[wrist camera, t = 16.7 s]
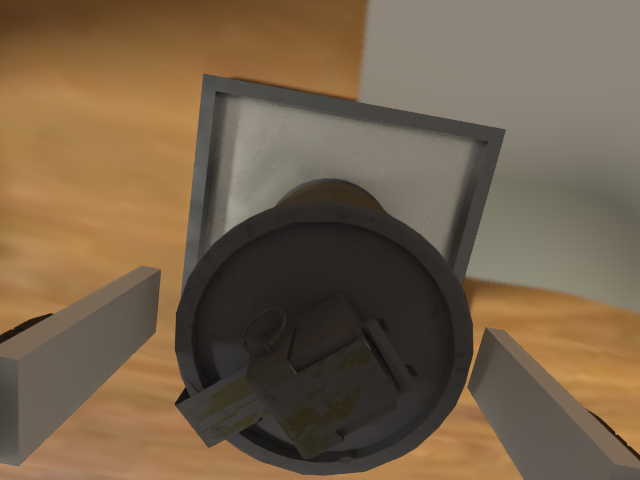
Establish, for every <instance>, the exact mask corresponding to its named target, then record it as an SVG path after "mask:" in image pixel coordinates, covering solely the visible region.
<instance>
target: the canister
mask: <svg viewBox="0 0 640 480" xmlns="http://www.w3.org/2000/svg"><path fill="white" fill-rule="evenodd" d="M175 352H176V356H177V361H178V365H179V369H180V374H181V377H182V379H183V382H184V384H185V386H186V387H185V389H184V390H183V392H182V393H181V395H180V396H179V398H178V399H177V401H176V402H175V406H176V407H177V408H178V410H179V411H180V412H181V413H182V415H183V416H184V417H185V419H186V420H187V421H188V422H189V424H190V425H191V426H192V427H193V429H194V430H195V431H196V433H197V434H198V435H199V436H200V438H201V439H202V440H203V442H204V443H205V444H206V445H207V447H208V448H209V447H212V446H214V445H216V444H218V443H219V442H221V441H223V440H227V441H228V442H229V443H231V444H232V445H233V446H235V447H236V448H237V449H239V450H240V451H242V452H244V453H246V454H248V455H249V456H251V457H253V458H255V459H257V460H258V461H261V462H264V463H267V464H270V465H274V466H277V467H280V468H283V469H287V470H290V471H293V472H296V473H300V474H303V475H335V474H346V473H356V472H365V471H368V470H370V469H373V468H375V467H377V466H380V465H382V464H385V463H387V462H390V461H392V460H394V459H397V458H399V457H402V456H404V455H405V454H407V453H409V452H410V451H412V450H414V449H415V448H417V447H418V446H419V445H420V444H421V443H422V442H423V441H424V440H425V439H427V438H428V437H429V436H430V435H431V434H432V433H433V432H434V431H435V430H436V429H437V428H439V426H440V425H441V424H442V422H443V421H444V420H445V419H446V417H447V416H448V415H449V413H450V412H451V411H452V410H453V408H454V407H455V406H456V404H457V401H458V399H459V397H460V395H461V392H462V390H463V388H464V386H465V383H466V379H467V375H468V371H469V368H470V364H471V360H472V356H473V323H472V319H471V315H470V311H469V307H468V303H467V299H466V295H465V293H464V291H463V289H462V287H461V285H460V282H459V280H458V278H457V277H456V275H455V274H454V272H453V271H452V269H451V268H450V266H449V265H448V263H447V262H446V260H445V259H444V258H443V256H442V255H441V254H440V253H439V251H438V250H437V249H436V248H435V247H434V246H433V245H432V244H431V243H429V242H428V241H427V240H426V239H425V238H424V237H423V236H422V235H421V234H420V233H418V232H417V231H415V230H414V229H412V228H411V227H409V226H408V225H407V224H405V223H403V222H401V221H400V220H398V219H396V218H394V217H392V216H391V215H390V214H388V213H387V212H386V211H385V210H384V209H383V207H382V206H381V205H380V203H379V202H378V201H377V200H376V199H375V198H374V196H372V195H371V194H370V193H369V192H367V191H366V190H365V189H363V188H362V187H360V186H358V185H356V184H354V183H351V182H349V181H345V180H341V179H333V178H323V179H316V180H311V181H308V182H305V183H303V184H300V185H298V186H297V187H295V188H293V189H292V190H290V191H289V192H287V193H286V194H285V195H284V196H283V197H282V198H281V199H280V200H279V201H278V203H277V204H276V206H275V207H273V208H270V209H267V210H265V211H263V212H261V213H259V214H256V215H254V216H252V217H250V218H248V219H246V220H245V221H243V222H241V223H240V224H238V225H236V226H235V227H233V228H232V229H230V230H229V231H228V232H227V233H226V234H224V235H223V236H222V237H221V238H219V239H218V240H217V241H216V242H215V243H214V244H213V245H212V246H211V247H210V249H209V250H208V251H207V252H206V253H205V255H204V256H203V257H202V258H201V259H200V261H199V262H198V263H197V265H196V266H195V268H194V270H193V271H192V273H191V274H190V276H189V277H188V280H187V282H186V285H185V288H184V291H183V294H182V297H181V300H180V303H179V306H178V309H177V312H176V331H175Z"/></svg>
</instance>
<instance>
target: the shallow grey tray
mask: <svg viewBox="0 0 640 480" xmlns="http://www.w3.org/2000/svg"><path fill="white" fill-rule="evenodd" d="M504 134H505V129H500V128H494V127H488V126H483V125H478V124H472V123H467V122H462V121H456V120H451V119H445V118H440V117H435V116H429V115H424V114H418V113H413V112H408V111H402V110H397V109H392V108H386V107H380V106H375V105H370V104H364V103H359V102H354V101H348V100H343V99H337V98H332V97H327V96H321V95H316V94H310V93H305V92H300V91H294V90H289V89H283V88H278V87H273V86H267V85H262V84H256V83H251V82H245V81H240V80H235V79H229V78H224V77H218V76H213V75H208V74H203V83H202V93H201V103H200V113H199V122H198V132H197V142H196V152H195V162H194V172H193V182H192V192H191V201H190V211H189V221H188V231H187V241H186V251H185V261H184V271H183V280H182V290H181V297H182V294H183V291H184V288H185V285H186V282H187V280H188V277H189V276H190V274H191V273H192V271H193V270H194V268H195V266H196V265H197V263H198V262H199V261H200V259H201V258H202V257H203V256H204V255H205V253H206V252H207V251H208V250H209V249H210V247H211V246H212V245H213V244H214V243H215V242H216V241H217V240H218V239H219V238H221V237H222V236H223V235H224V234H226V233H227V232H228V231H229V230H230V229H232V228H233V227H235V226H236V225H238V224H240V223H241V222H243V221H245V220H246V219H248V218H250V217H252V216H254V215H256V214H259V213H261V212H263V211H265V210H267V209H270V208H273V207H275V206H276V204H277V203H278V201H279V200H280V199H281V198H282V197H283V196H284V195H285V194H286V193H287V192H289V191H290V190H292V189H293V188H295V187H297V186H298V185H300V184H303V183H305V182H308V181H311V180H316V179H323V178H333V179H341V180H345V181H349V182H351V183H354V184H356V185H358V186H360V187H362V188H363V189H365V190H366V191H367V192H369V193H370V194H371V195H372V196H374V198H375V199H376V200H377V201H378V202H379V203H380V205H381V206H382V207H383V209H384V210H385V211H386V212H387V213H388V214H390V215H391V216H392V217H394V218H396V219H398V220H400V221H401V222H403V223H405V224H407V225H408V226H409V227H411V228H412V229H414V230H415V231H417V232H418V233H420V234H421V235H422V236H423V237H424V238H425V239H426V240H427V241H428V242H429V243H431V244H432V245H433V246H434V247H435V248H436V249H437V250H438V251H439V253H440V254H441V255H442V256H443V258H444V259H445V260H446V262H447V263H448V265H449V266H450V268H451V269H452V271H453V272H454V274H455V275H456V277H457V278H458V280H459V282H460V285H461V287H462V285H463V281H464V277H465V274H466V270H467V266H468V263H469V260H470V256H471V252H472V249H473V245H474V241H475V238H476V234H477V231H478V227H479V224H480V220H481V217H482V213H483V209H484V206H485V202H486V199H487V195H488V191H489V188H490V184H491V181H492V177H493V174H494V170H495V166H496V163H497V159H498V155H499V152H500V148H501V145H502V142H503V138H504Z"/></svg>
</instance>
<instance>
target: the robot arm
mask: <svg viewBox="0 0 640 480" xmlns="http://www.w3.org/2000/svg"><path fill="white" fill-rule="evenodd" d="M160 276H161V269H157V268H152V267H146V266H141V267H139V268H137V269H135V270H133V271H131V272H130V273H128V274H126V275H124V276H122V277H121V278H119V279H117V280H115V281H113V282H112V283H110V284H108V285H106V286H104V287H103V288H101V289H99V290H97V291H95V292H93V293H92V294H90V295H88V296H86V297H84V298H83V299H81V300H79V301H77V302H75V303H74V304H72V305H70V306H68V307H66V308H64V309H63V310H61V311H59V312H57V313H55V314H52V313H50V314H47V315H43V316H40V317H36V318H33V319H30V320H28V321H26V322H24V323H22V324H20V325H18V326H17V327H15V328H14V329H13V330H9V331H7V332H5V333H3V334H1V335H0V463H3V464H9V465H15V466H20V465H21V464H22V463H23V462H24V461H25V460H26V459H27V458H28V457H29V456H30V455H31V454H32V453H33V452H34V451H35V450H36V449H37V448H38V447H39V446H40V445H41V444H42V443H43V442H44V441H45V440H46V439H47V438H48V437H49V436H50V435H51V434H52V433H53V432H54V431H55V430H56V429H57V428H58V427H59V426H60V425H61V424H62V423H63V422H64V421H65V420H67V419H68V418H69V417H70V416H71V415H72V414H73V413H74V412H75V411H76V410H77V409H78V408H79V407H80V406H81V405H82V404H83V403H84V402H85V401H86V400H87V399H88V398H89V397H90V396H91V395H92V394H93V393H94V392H95V391H96V390H97V389H98V388H99V387H100V386H101V385H102V384H103V383H104V382H105V381H106V380H107V379H108V378H109V377H110V376H111V375H113V374H114V373H115V372H116V371H117V370H118V369H119V368H120V367H121V366H122V365H123V364H124V363H125V362H126V361H127V360H128V359H129V358H130V357H131V356H132V355H133V354H134V353H135V352H136V351H137V350H138V349H139V348H140V347H141V346H142V345H143V344H144V343H145V342H146V341H147V340H148V339H149V338H150V337H151V336H152V335H153V334H154V333H155V332H156V322H157V311H158V299H159V288H160ZM467 388H468V389H469V391H470V392H471V394H472V396H473V397H474V399H475V401H476V402H477V404H478V405H479V407H480V409H481V410H482V412H483V414H484V415H485V417H486V419H487V420H488V422H489V423H490V425H491V427H492V428H493V430H494V432H495V433H496V435H497V436H498V438H499V440H500V441H501V443H502V445H503V446H504V448H505V450H506V451H507V453H508V454H509V456H510V458H511V459H512V461H513V463H514V464H515V466H516V467H517V469H518V471H519V472H520V474H521V476H522V477H523V479H524V480H640V455H639V454H638V453H637V452H636V451H635V450H634V449H633V448H631V447H630V446H627V443H626V442H625V441H624V440H623V439H622V438H621V437H620V436H619V435H616V434H615V431H613V430H612V429H611V428H610V427H609V426H608V425H607V424H606V423H605V422H604V421H603V420H602V419H601V418H599V417H598V416H596V415H595V414H593V413H592V412H590V411H589V410H587V409H586V408H585V407H583V406H582V405H581V404H580V403H579V402H578V401H577V400H576V399H575V398H574V397H573V396H572V395H571V394H570V393H569V392H568V391H567V390H566V389H565V388H564V387H562V386H561V385H560V384H559V383H558V382H557V381H556V380H555V379H554V378H553V377H552V376H551V375H550V374H549V373H548V372H547V371H546V370H545V369H544V368H543V367H542V366H541V365H540V364H539V363H538V362H536V361H535V360H534V359H533V358H532V357H531V356H530V355H529V354H528V353H527V352H526V351H525V350H524V349H523V348H522V347H521V346H520V345H519V344H518V343H517V342H516V341H515V340H514V339H513V338H512V337H510V336H509V335H508V334H507V333H506V332H505V331H504V330H498V329H493V328H487V327H486V328H485V331H484V334H483V338H482V341H481V344H480V347H479V351H478V354H477V357H476V361H475V364H474V367H473V371H472V374H471V377H470V380H469V384H468V387H467Z"/></svg>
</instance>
